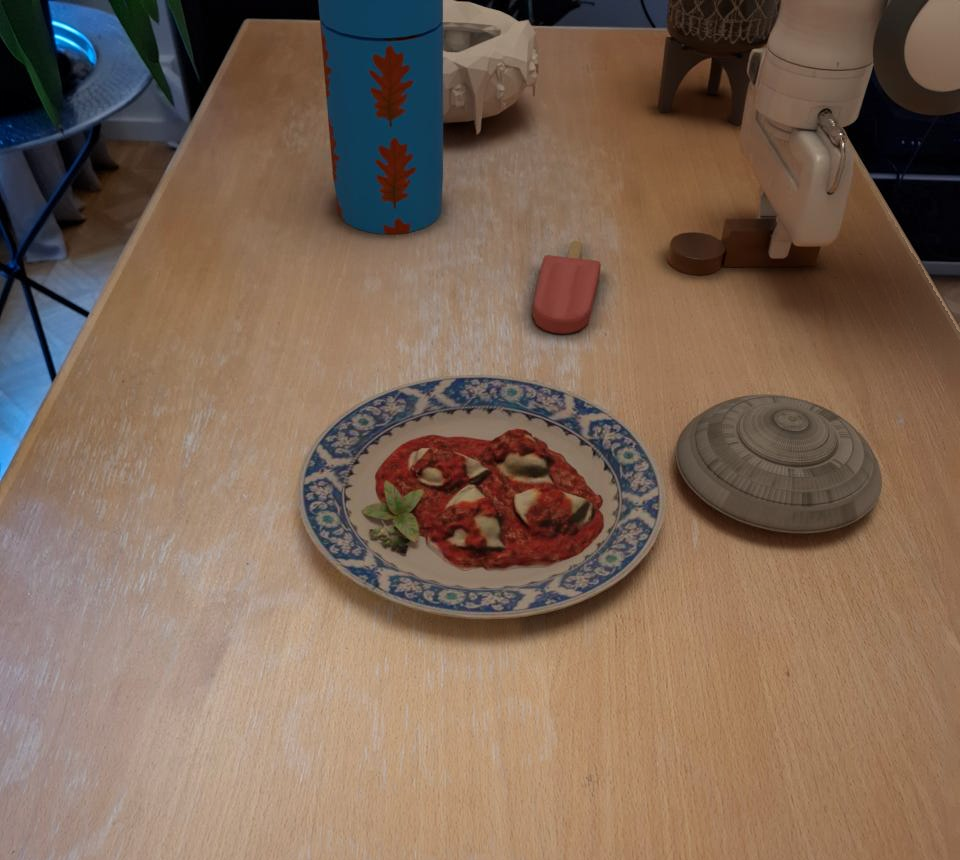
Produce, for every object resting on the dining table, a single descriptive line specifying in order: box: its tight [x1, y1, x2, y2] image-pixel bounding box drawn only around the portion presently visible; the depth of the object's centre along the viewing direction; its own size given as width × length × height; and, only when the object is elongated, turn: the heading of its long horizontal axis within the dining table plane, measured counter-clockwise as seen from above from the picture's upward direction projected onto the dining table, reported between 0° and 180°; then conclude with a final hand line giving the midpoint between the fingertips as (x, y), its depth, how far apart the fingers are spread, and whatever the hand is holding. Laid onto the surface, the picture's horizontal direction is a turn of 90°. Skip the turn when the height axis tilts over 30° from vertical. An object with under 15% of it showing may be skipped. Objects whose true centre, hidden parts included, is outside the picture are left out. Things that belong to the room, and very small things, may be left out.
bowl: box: [443, 0, 540, 135], centre depth 112 cm, size 21×20×10 cm
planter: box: [657, 0, 781, 126], centre depth 112 cm, size 13×13×18 cm
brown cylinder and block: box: [667, 218, 822, 276], centre depth 94 cm, size 14×5×4 cm, turn 94°
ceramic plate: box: [296, 374, 667, 620], centre depth 70 cm, size 26×26×3 cm
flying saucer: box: [675, 393, 883, 534], centre depth 72 cm, size 15×15×6 cm
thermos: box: [317, 0, 444, 235], centre depth 91 cm, size 11×11×25 cm
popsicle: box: [531, 240, 602, 335], centre depth 90 cm, size 5×2×15 cm
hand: (770, 244), depth 94 cm, fingers closed on brown cylinder and block, 2 cm apart
